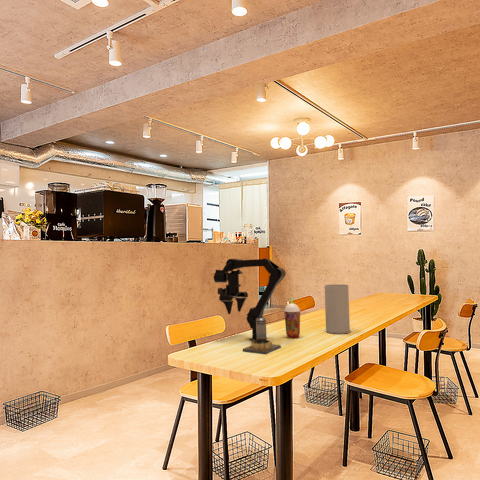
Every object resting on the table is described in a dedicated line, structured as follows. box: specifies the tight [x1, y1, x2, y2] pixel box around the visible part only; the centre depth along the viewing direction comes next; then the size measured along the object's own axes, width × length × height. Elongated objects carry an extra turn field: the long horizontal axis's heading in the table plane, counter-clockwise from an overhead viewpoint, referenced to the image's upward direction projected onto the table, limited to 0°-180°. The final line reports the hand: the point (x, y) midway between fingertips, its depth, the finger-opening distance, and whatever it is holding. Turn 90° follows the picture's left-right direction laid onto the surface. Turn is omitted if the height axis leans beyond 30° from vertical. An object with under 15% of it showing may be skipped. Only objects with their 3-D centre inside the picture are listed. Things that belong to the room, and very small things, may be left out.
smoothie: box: [283, 297, 301, 339], centre depth 210 cm, size 8×8×20 cm
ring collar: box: [242, 339, 282, 355], centre depth 186 cm, size 14×12×4 cm
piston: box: [256, 317, 268, 343], centre depth 186 cm, size 5×5×13 cm
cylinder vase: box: [324, 284, 351, 335], centre depth 220 cm, size 12×12×25 cm
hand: (234, 312), depth 212 cm, fingers open, 9 cm apart
